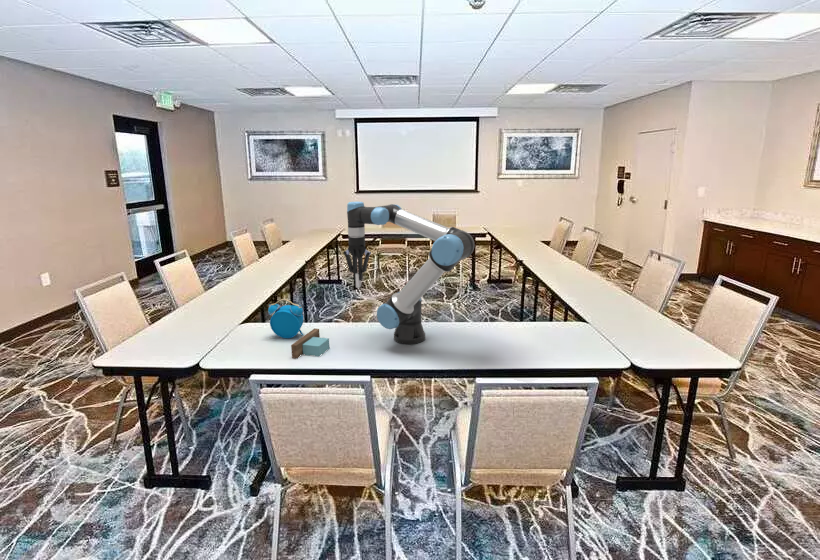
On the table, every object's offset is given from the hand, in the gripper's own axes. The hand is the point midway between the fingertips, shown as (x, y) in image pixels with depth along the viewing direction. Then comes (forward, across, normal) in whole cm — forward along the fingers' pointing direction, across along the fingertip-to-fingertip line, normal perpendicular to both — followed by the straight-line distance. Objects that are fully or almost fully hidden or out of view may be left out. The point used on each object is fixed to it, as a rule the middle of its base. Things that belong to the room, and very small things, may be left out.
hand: (358, 286), depth 218 cm
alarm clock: (+27, +36, +4) cm, 45 cm away
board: (+26, +20, +16) cm, 37 cm away
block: (+27, +14, +17) cm, 35 cm away
